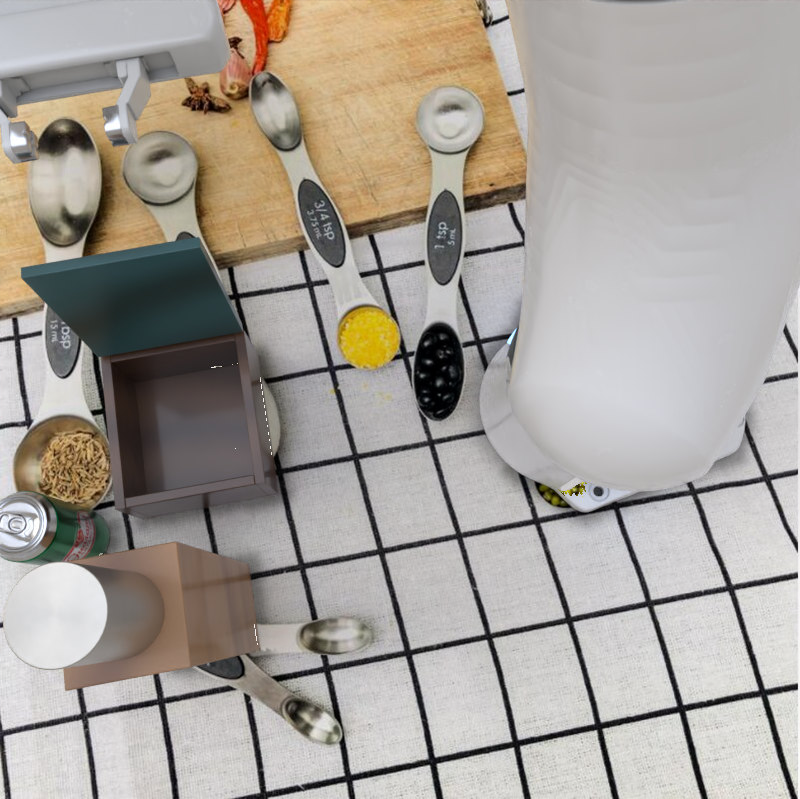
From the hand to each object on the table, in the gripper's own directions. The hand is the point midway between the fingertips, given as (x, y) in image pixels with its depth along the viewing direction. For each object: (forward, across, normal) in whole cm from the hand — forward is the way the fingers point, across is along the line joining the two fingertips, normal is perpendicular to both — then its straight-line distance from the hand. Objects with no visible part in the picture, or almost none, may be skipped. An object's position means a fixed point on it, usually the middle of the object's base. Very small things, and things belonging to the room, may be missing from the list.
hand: (71, 148), depth 49 cm
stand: (+27, -1, +26) cm, 37 cm away
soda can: (+19, -11, +26) cm, 34 cm away
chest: (+12, 0, +26) cm, 29 cm away
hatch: (+6, 0, +12) cm, 13 cm away
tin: (+27, -1, +4) cm, 27 cm away
